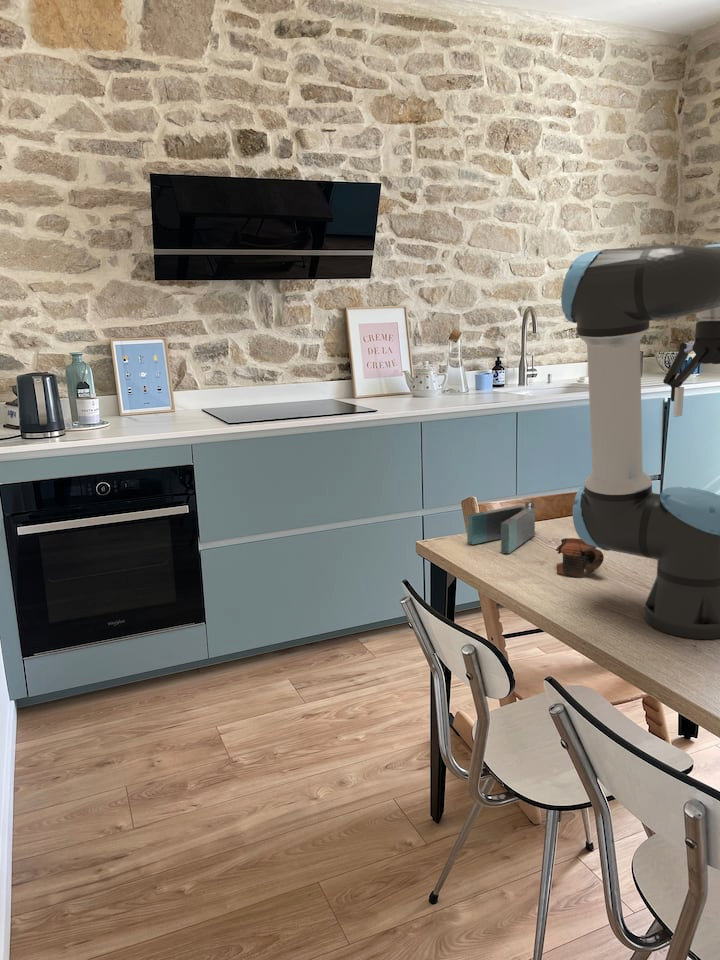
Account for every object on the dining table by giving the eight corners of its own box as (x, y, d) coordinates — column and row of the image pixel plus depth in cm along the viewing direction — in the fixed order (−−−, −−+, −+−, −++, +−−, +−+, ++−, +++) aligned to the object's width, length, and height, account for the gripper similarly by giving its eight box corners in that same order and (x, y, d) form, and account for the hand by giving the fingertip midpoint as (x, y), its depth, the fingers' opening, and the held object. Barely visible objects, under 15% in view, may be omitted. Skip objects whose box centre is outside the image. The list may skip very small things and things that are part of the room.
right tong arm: (527, 534, 184) (527, 507, 183) (534, 535, 183) (535, 508, 182) (501, 552, 172) (501, 523, 170) (508, 553, 171) (509, 524, 169)
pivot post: (530, 535, 184) (530, 504, 183) (523, 534, 186) (523, 503, 184) (535, 533, 186) (536, 502, 184) (528, 532, 187) (528, 501, 186)
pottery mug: (542, 573, 160) (548, 536, 162) (572, 584, 164) (577, 548, 166) (587, 574, 150) (593, 534, 152) (617, 585, 154) (622, 547, 156)
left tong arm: (519, 531, 187) (519, 504, 185) (524, 533, 185) (524, 506, 184) (467, 542, 180) (467, 514, 178) (472, 544, 178) (471, 516, 176)
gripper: (785, 318, 152) (775, 421, 156) (667, 320, 171) (662, 412, 175) (770, 318, 147) (760, 425, 152) (651, 321, 166) (645, 415, 170)
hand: (707, 418), depth 163 cm, fingers open, 13 cm apart
